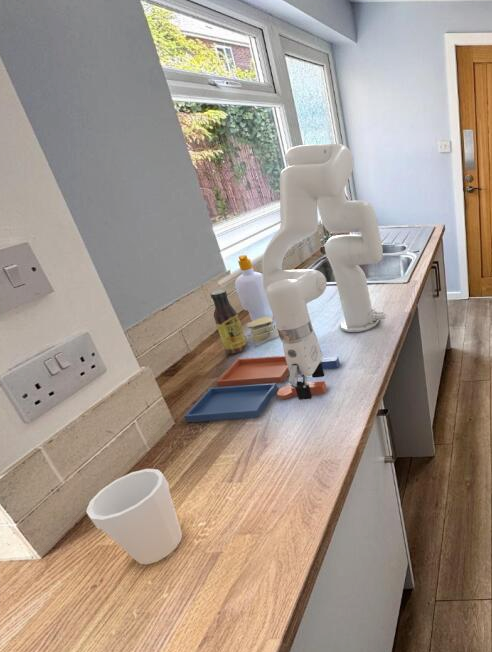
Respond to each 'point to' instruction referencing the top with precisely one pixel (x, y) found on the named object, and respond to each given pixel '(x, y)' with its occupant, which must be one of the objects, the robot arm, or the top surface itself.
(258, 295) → the soap bottle
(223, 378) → the terracotta tray
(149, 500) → the foam cup
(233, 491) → the top surface
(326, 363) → the blue spoon
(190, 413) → the blue tray
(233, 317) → the sauce bottle
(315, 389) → the terracotta spoon
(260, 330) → the stacked layers on plate
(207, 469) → the top surface
